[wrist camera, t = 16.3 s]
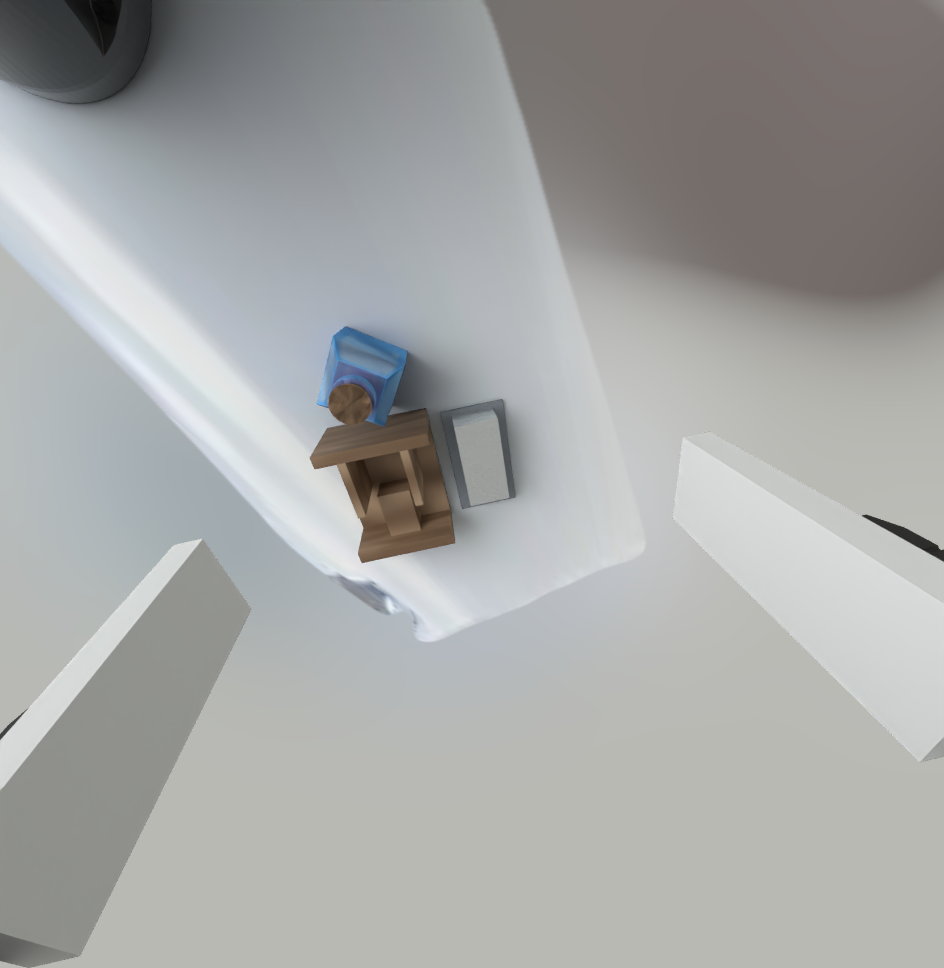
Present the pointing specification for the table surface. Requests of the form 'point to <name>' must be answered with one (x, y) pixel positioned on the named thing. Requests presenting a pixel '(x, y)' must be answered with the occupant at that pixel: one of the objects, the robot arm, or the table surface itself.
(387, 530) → the pocket jig
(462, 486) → the slate pad
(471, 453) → the bar
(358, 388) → the perfume bottle
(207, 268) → the table surface
